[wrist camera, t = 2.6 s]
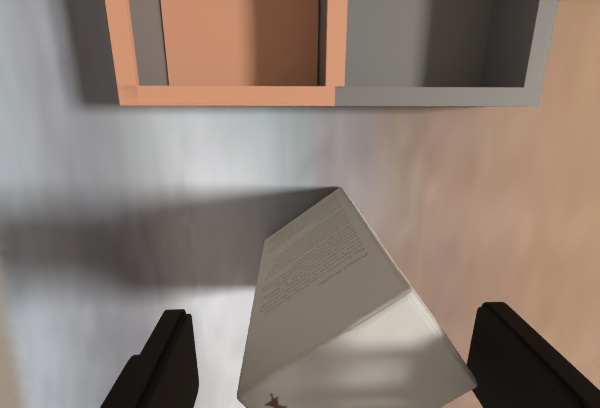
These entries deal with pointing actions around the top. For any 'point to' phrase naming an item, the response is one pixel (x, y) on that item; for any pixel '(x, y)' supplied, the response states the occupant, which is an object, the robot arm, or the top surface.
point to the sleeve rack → (330, 52)
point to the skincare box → (342, 323)
